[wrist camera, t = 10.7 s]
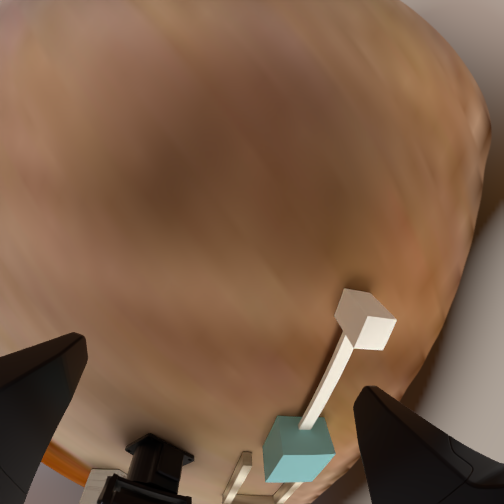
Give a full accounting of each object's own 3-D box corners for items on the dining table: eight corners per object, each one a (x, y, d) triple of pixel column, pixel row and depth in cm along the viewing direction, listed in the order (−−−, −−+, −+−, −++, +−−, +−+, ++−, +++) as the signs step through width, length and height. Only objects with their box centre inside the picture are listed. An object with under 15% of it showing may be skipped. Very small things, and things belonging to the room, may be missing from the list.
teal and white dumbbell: (304, 448, 25) (311, 481, 20) (262, 446, 25) (265, 482, 20) (383, 295, 20) (414, 324, 15) (328, 285, 20) (352, 317, 15)
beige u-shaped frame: (277, 498, 29) (279, 514, 26) (222, 495, 29) (222, 513, 25) (313, 454, 26) (318, 476, 22) (242, 451, 25) (243, 475, 22)
